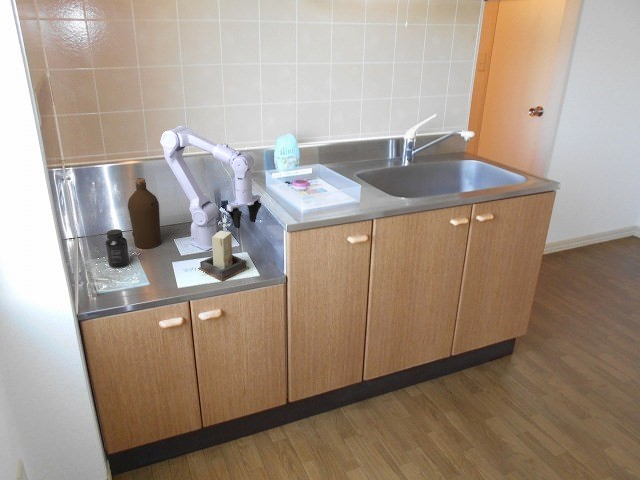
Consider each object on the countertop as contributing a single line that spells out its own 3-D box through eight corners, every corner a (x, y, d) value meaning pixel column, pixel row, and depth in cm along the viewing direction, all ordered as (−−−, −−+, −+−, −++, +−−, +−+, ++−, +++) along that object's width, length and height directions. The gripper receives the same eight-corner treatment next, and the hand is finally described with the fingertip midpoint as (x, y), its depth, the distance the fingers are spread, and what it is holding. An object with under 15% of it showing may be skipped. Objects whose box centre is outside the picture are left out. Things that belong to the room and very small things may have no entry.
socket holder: (198, 269, 167) (197, 261, 166) (225, 258, 176) (224, 250, 174) (222, 281, 160) (221, 273, 159) (248, 268, 169) (248, 260, 168)
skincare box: (225, 272, 165) (223, 239, 160) (213, 270, 166) (211, 237, 161) (233, 264, 170) (231, 231, 165) (221, 262, 171) (220, 229, 166)
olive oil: (166, 238, 189) (160, 175, 178) (157, 250, 179) (149, 184, 169) (139, 237, 189) (131, 174, 179) (128, 249, 180) (119, 183, 169)
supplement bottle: (134, 261, 171) (129, 229, 166) (120, 270, 165) (115, 237, 160) (117, 258, 173) (113, 226, 168) (104, 266, 167) (98, 234, 162)
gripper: (236, 196, 164) (237, 233, 170) (266, 186, 175) (267, 221, 180) (221, 191, 168) (223, 228, 174) (252, 181, 179) (253, 216, 184)
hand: (245, 224), depth 177 cm, fingers open, 7 cm apart
